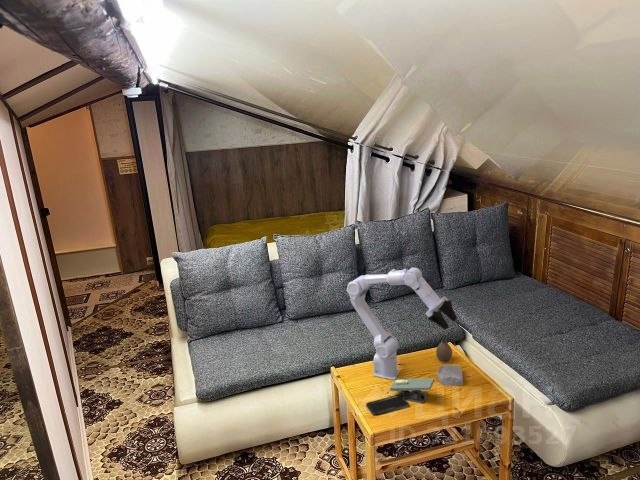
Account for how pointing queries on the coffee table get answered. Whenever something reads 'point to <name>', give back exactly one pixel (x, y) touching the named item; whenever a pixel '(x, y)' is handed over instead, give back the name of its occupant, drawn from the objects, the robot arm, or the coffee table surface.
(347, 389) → the coffee table surface
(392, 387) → the plate
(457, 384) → the stone block
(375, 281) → the robot arm
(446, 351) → the vase
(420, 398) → the tribrach base
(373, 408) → the phone
